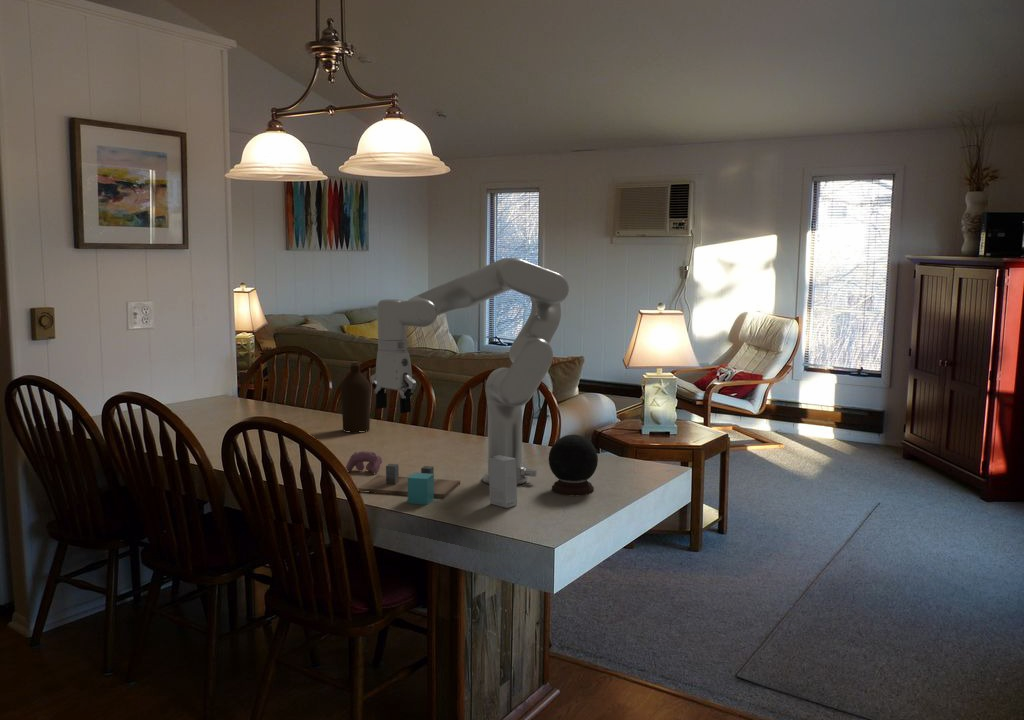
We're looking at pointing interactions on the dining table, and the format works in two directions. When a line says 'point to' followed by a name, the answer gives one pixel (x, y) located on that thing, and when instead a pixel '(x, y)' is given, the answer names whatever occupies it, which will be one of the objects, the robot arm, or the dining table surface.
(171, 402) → the dining table surface
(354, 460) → the video game controller
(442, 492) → the flat wooden board
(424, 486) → the turquoise toy cube
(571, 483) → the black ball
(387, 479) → the grey block
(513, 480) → the skincare box
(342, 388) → the olive oil
